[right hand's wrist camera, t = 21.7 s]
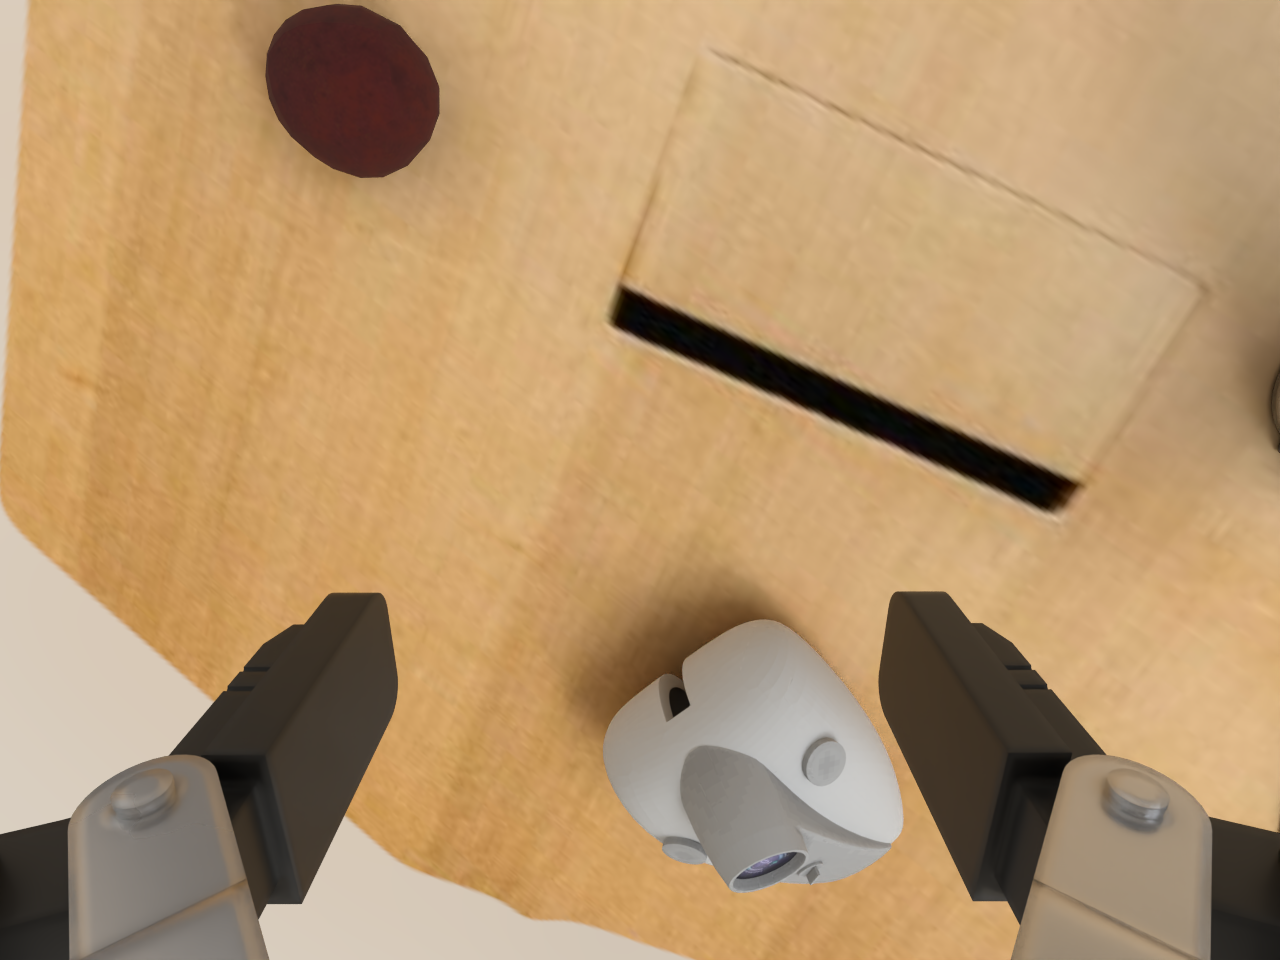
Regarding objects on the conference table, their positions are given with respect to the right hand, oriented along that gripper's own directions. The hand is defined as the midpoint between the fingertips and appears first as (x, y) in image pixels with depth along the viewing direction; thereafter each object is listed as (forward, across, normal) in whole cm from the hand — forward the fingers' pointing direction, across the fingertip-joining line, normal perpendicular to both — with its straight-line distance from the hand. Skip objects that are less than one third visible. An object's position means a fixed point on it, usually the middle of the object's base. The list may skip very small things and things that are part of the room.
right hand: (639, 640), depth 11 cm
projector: (+33, +10, -31) cm, 46 cm away
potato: (+33, -14, +11) cm, 37 cm away
